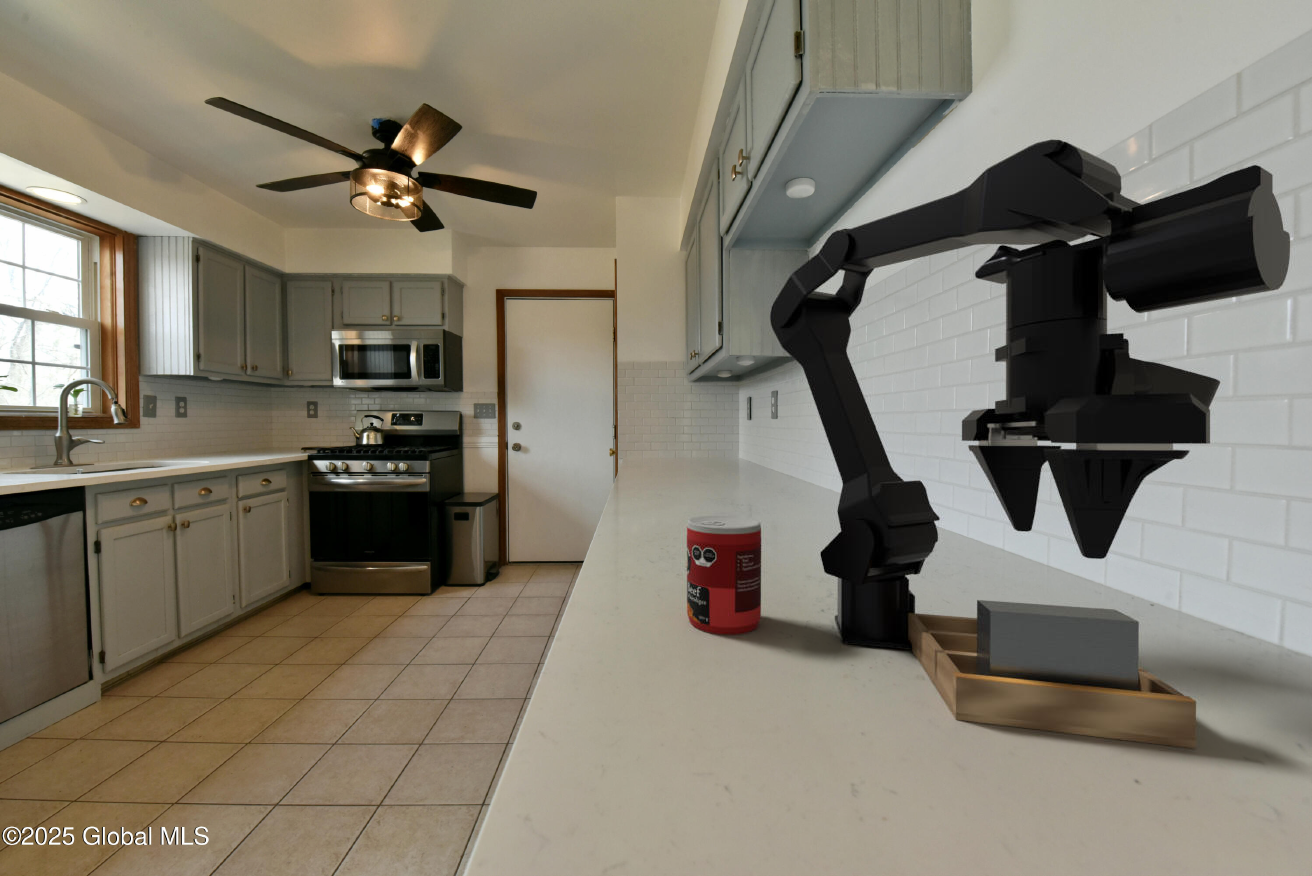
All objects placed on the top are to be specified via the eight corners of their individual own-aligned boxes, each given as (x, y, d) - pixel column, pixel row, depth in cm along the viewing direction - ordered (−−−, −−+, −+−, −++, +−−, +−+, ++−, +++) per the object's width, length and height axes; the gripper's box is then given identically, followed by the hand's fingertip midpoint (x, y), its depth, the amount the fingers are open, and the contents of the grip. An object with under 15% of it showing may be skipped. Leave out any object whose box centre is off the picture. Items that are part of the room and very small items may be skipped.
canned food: (685, 609, 58) (685, 515, 58) (754, 609, 57) (754, 515, 57) (688, 635, 50) (688, 527, 50) (767, 636, 50) (767, 527, 50)
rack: (955, 719, 35) (956, 676, 35) (907, 643, 48) (907, 611, 48) (1195, 748, 32) (1196, 701, 32) (1075, 658, 45) (1075, 624, 45)
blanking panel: (989, 706, 36) (990, 610, 36) (976, 689, 38) (977, 599, 38) (1137, 723, 34) (1138, 621, 34) (1114, 704, 36) (1115, 609, 36)
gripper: (1341, 279, 25) (1340, 589, 25) (1102, 345, 43) (1102, 525, 43) (1082, 295, 27) (1081, 575, 27) (959, 351, 46) (959, 520, 46)
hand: (1053, 542), depth 36 cm, fingers open, 9 cm apart
